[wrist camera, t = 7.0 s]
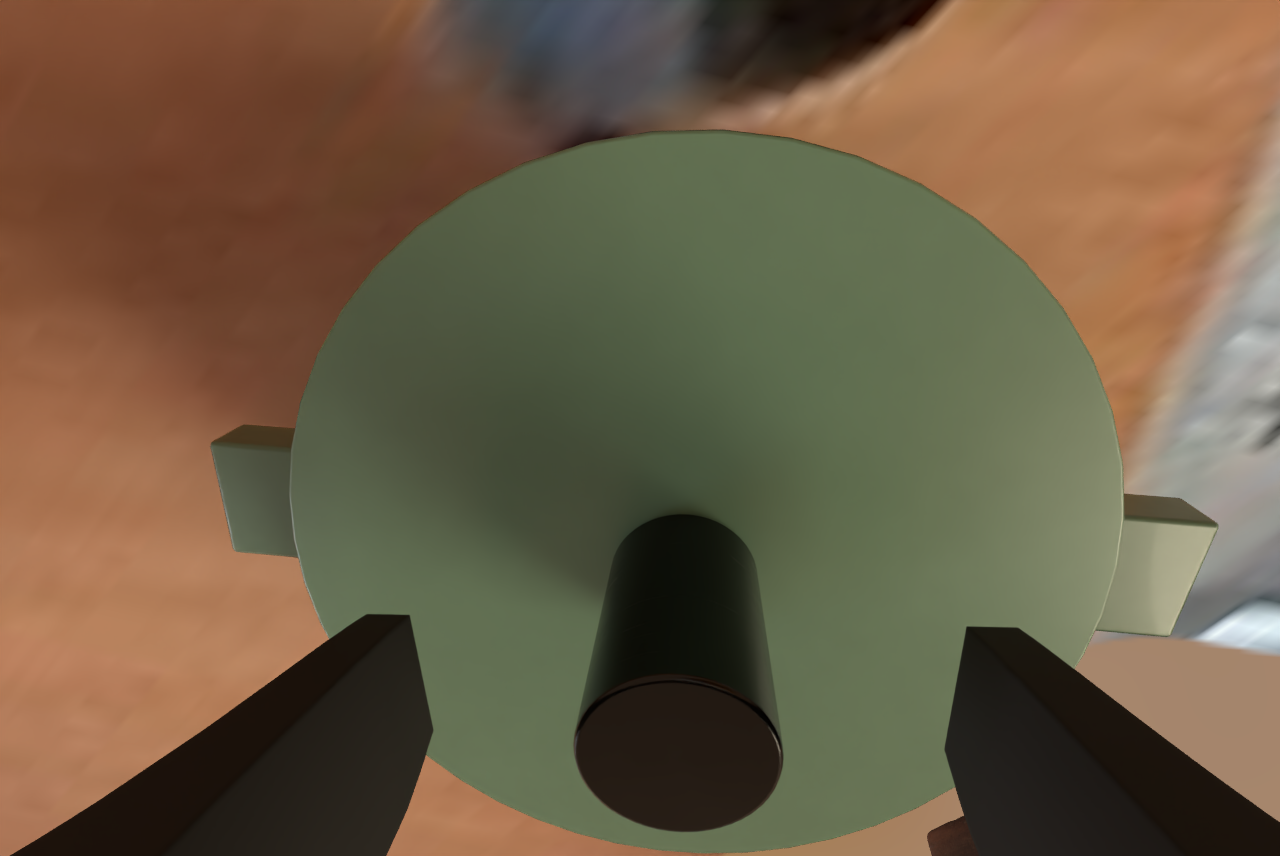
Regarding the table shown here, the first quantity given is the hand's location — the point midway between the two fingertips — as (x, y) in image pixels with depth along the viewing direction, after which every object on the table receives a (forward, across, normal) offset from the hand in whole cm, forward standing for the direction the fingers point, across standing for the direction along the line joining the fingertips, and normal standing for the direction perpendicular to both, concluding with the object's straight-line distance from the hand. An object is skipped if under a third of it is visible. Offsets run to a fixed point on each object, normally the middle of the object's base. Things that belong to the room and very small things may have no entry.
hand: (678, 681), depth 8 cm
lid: (+3, 0, 0) cm, 3 cm away
